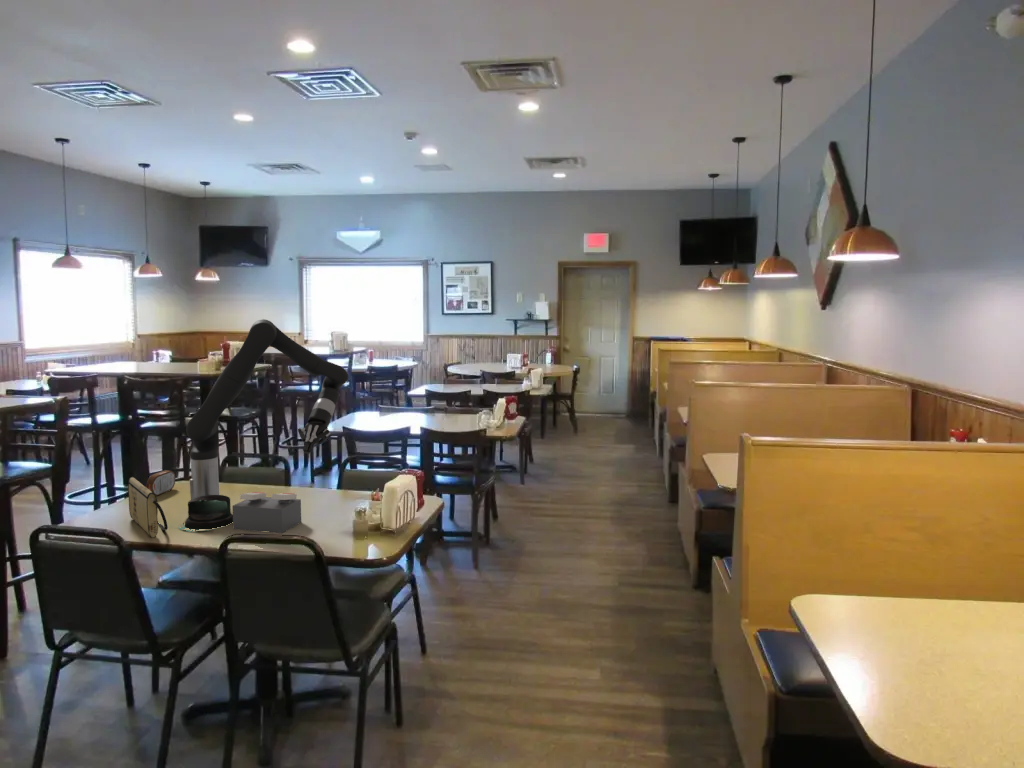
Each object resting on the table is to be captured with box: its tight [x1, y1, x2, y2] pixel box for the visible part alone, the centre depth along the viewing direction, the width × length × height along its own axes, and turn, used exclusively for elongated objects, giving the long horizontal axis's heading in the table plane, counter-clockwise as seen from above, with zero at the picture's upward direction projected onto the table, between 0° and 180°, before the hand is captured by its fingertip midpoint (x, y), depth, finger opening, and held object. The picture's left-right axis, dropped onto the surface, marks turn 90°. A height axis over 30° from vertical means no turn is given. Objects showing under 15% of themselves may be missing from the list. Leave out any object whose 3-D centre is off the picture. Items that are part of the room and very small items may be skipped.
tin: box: [145, 469, 176, 497], centre depth 272 cm, size 15×3×8 cm, turn 172°
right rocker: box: [270, 492, 297, 500], centre depth 232 cm, size 8×4×2 cm, turn 167°
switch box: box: [232, 496, 302, 534], centre depth 232 cm, size 12×18×9 cm, turn 77°
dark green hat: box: [178, 494, 233, 533], centre depth 235 cm, size 20×20×9 cm
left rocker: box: [239, 491, 267, 500], centre depth 232 cm, size 8×4×2 cm, turn 167°
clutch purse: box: [127, 476, 169, 538], centre depth 231 cm, size 30×7×15 cm, turn 41°
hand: (306, 452), depth 245 cm, fingers closed
